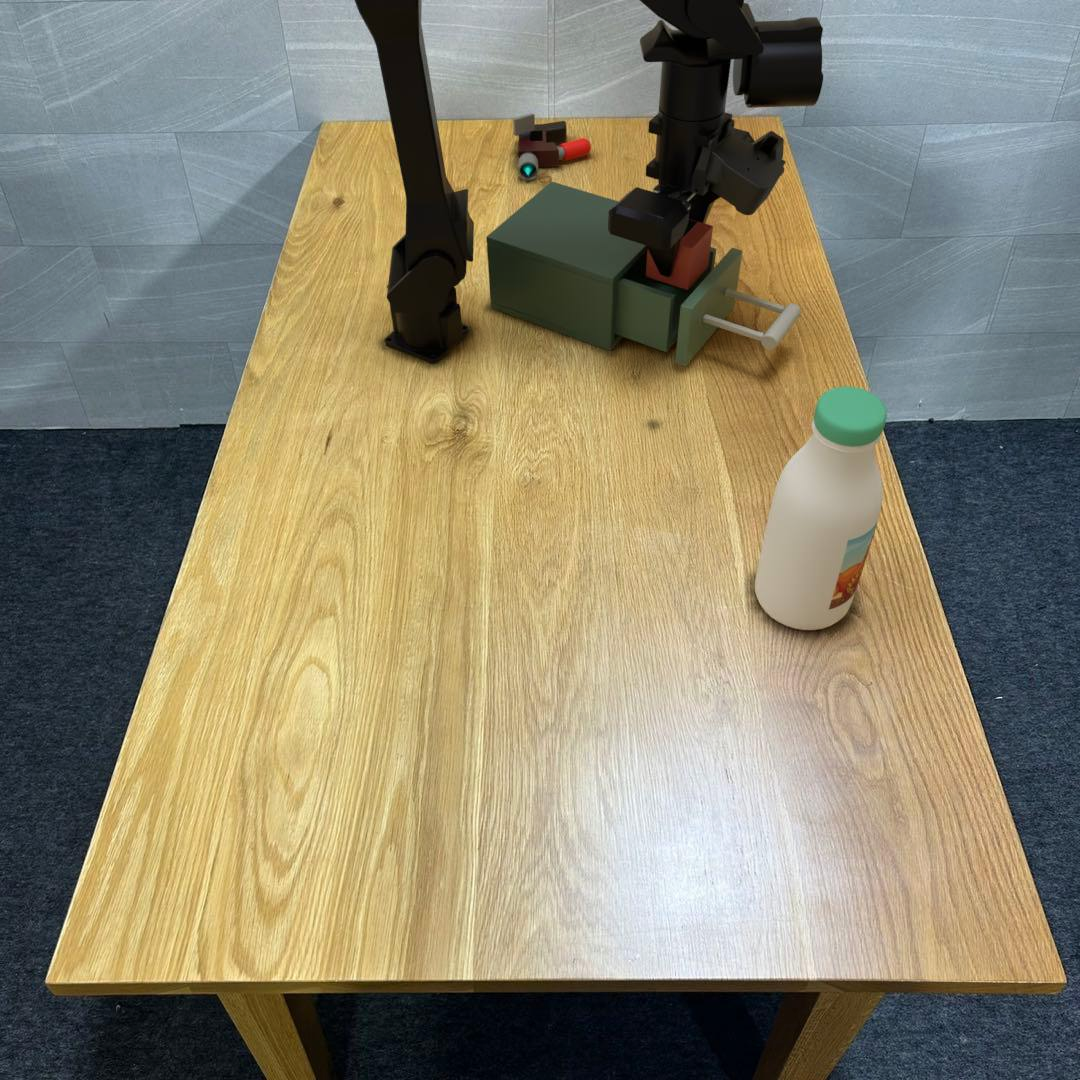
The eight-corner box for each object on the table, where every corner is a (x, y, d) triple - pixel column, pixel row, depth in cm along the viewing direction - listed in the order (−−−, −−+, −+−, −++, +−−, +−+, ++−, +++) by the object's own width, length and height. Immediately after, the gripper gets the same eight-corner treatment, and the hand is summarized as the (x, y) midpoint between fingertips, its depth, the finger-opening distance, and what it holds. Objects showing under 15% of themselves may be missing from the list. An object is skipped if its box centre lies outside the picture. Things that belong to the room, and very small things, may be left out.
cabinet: (667, 289, 112) (673, 217, 105) (610, 351, 105) (613, 278, 98) (552, 251, 117) (551, 180, 111) (490, 308, 110) (485, 236, 104)
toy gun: (514, 185, 127) (513, 148, 123) (514, 138, 135) (513, 101, 131) (593, 183, 127) (594, 145, 123) (588, 136, 135) (589, 99, 131)
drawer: (805, 330, 105) (817, 272, 100) (759, 393, 99) (769, 335, 94) (621, 270, 113) (623, 214, 108) (567, 324, 106) (567, 267, 101)
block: (645, 276, 101) (648, 235, 98) (666, 254, 104) (670, 212, 100) (687, 290, 100) (692, 248, 96) (708, 267, 102) (713, 225, 99)
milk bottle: (791, 648, 80) (843, 460, 65) (734, 580, 84) (770, 390, 70) (870, 610, 82) (938, 421, 67) (810, 546, 87) (861, 356, 72)
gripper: (731, 178, 81) (710, 339, 93) (820, 85, 92) (791, 240, 103) (607, 143, 85) (602, 302, 97) (706, 58, 96) (691, 210, 107)
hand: (677, 263), depth 101 cm, fingers closed on block, 4 cm apart
